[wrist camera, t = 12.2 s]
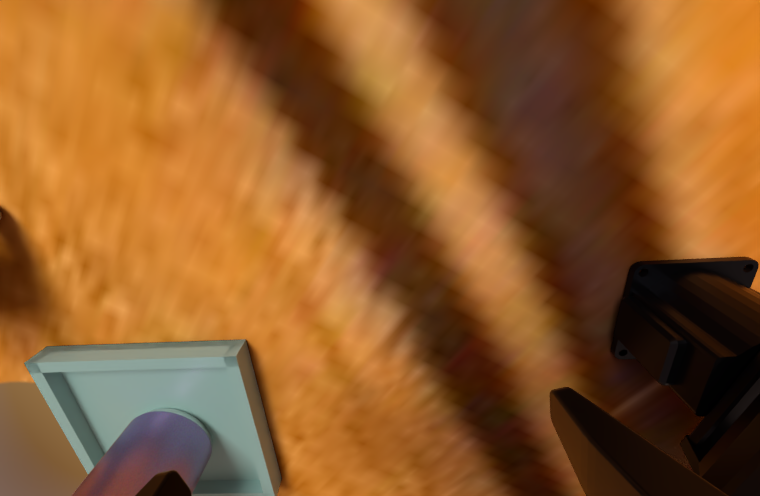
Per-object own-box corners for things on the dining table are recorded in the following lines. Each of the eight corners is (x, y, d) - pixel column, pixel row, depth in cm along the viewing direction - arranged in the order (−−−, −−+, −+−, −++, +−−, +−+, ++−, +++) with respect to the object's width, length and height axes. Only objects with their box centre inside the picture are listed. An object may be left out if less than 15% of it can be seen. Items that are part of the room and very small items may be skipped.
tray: (245, 339, 23) (235, 356, 21) (281, 478, 28) (275, 499, 27) (47, 346, 24) (24, 363, 22) (118, 480, 29) (103, 501, 27)
